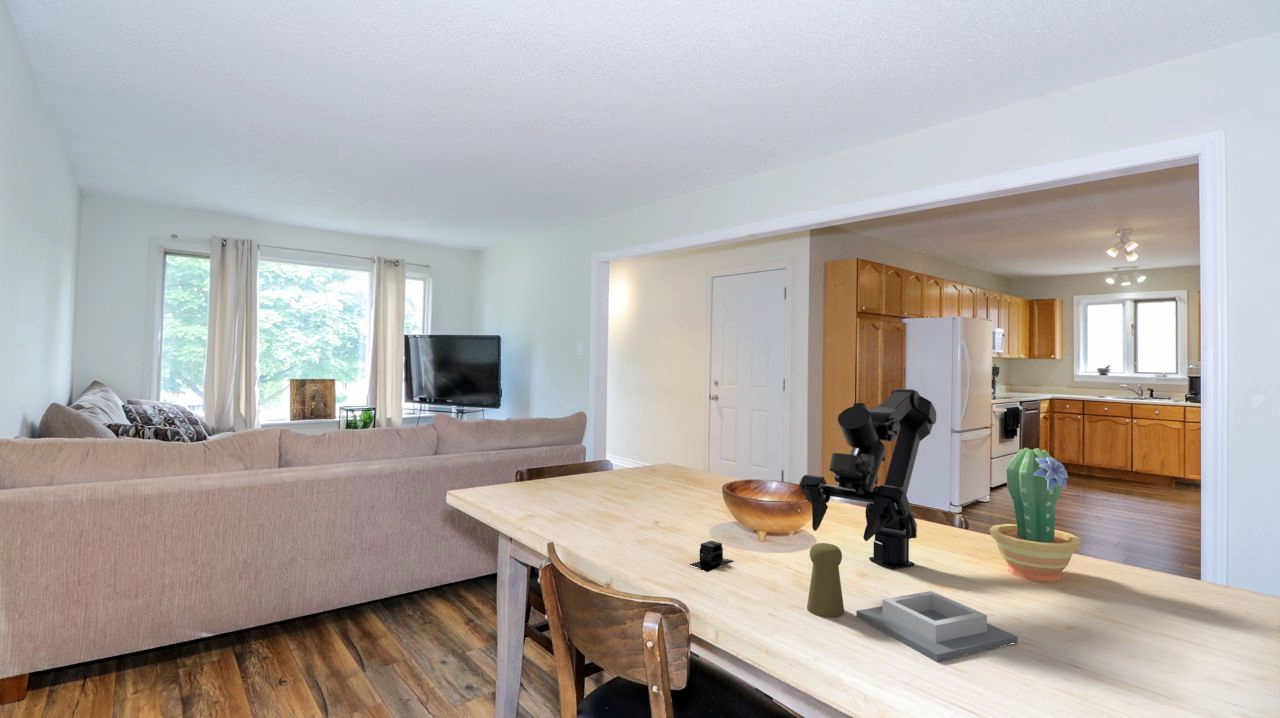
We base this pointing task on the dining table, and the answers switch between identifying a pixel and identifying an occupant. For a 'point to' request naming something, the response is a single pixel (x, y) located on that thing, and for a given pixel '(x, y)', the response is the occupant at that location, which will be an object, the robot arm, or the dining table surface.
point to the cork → (825, 581)
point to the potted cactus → (1035, 519)
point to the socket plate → (935, 625)
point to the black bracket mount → (711, 556)
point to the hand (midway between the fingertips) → (838, 534)
